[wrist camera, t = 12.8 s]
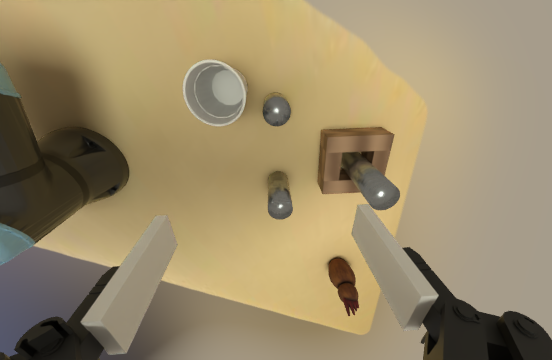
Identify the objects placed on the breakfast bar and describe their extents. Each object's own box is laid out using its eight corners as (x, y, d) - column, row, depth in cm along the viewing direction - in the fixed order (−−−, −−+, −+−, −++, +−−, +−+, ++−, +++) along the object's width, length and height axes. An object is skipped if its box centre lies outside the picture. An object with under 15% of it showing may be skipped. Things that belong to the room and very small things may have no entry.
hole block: (317, 182, 47) (322, 194, 43) (321, 129, 41) (327, 137, 37) (370, 179, 47) (380, 191, 43) (381, 127, 41) (394, 134, 37)
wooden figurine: (321, 263, 60) (336, 318, 47) (336, 251, 58) (356, 306, 45) (337, 272, 62) (355, 327, 49) (352, 262, 60) (375, 316, 47)
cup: (260, 94, 38) (258, 104, 27) (227, 118, 40) (212, 137, 29) (233, 51, 34) (217, 44, 24) (197, 80, 36) (168, 85, 26)
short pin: (264, 117, 40) (263, 126, 34) (263, 93, 38) (261, 98, 32) (287, 116, 40) (290, 125, 34) (287, 92, 38) (290, 96, 32)
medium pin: (268, 188, 47) (268, 219, 38) (267, 171, 45) (267, 199, 36) (287, 188, 48) (292, 218, 38) (287, 170, 45) (292, 198, 36)
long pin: (336, 166, 45) (366, 210, 31) (338, 147, 43) (372, 185, 29) (356, 165, 45) (395, 209, 31) (359, 146, 43) (403, 184, 29)
